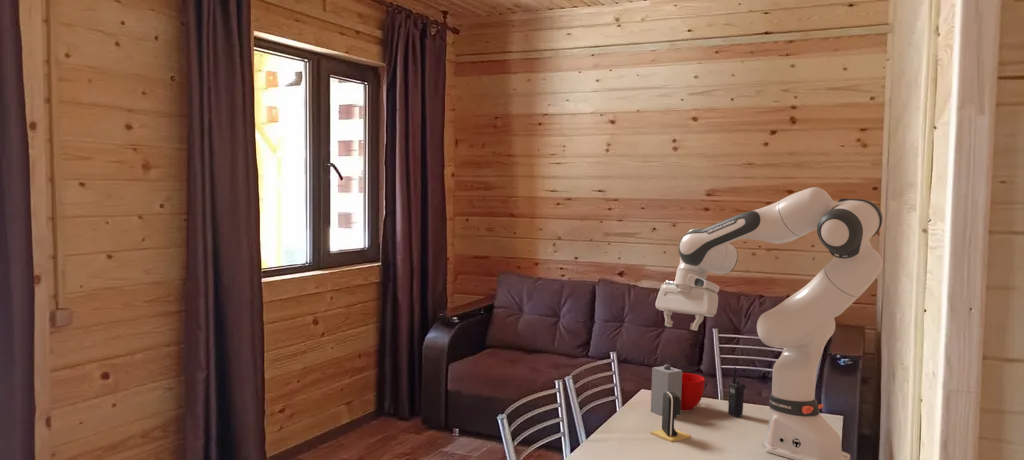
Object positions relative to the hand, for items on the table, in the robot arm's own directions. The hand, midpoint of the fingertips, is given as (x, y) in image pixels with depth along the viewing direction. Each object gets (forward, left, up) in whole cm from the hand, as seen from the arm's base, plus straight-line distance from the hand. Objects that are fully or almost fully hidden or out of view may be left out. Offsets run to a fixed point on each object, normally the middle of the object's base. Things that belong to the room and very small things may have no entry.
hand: (680, 328), depth 223 cm
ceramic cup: (+14, -18, -30) cm, 37 cm away
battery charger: (-5, +8, -29) cm, 30 cm away
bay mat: (-6, +8, -29) cm, 31 cm away
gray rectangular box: (+11, -7, -29) cm, 32 cm away
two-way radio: (-1, -26, -30) cm, 39 cm away
